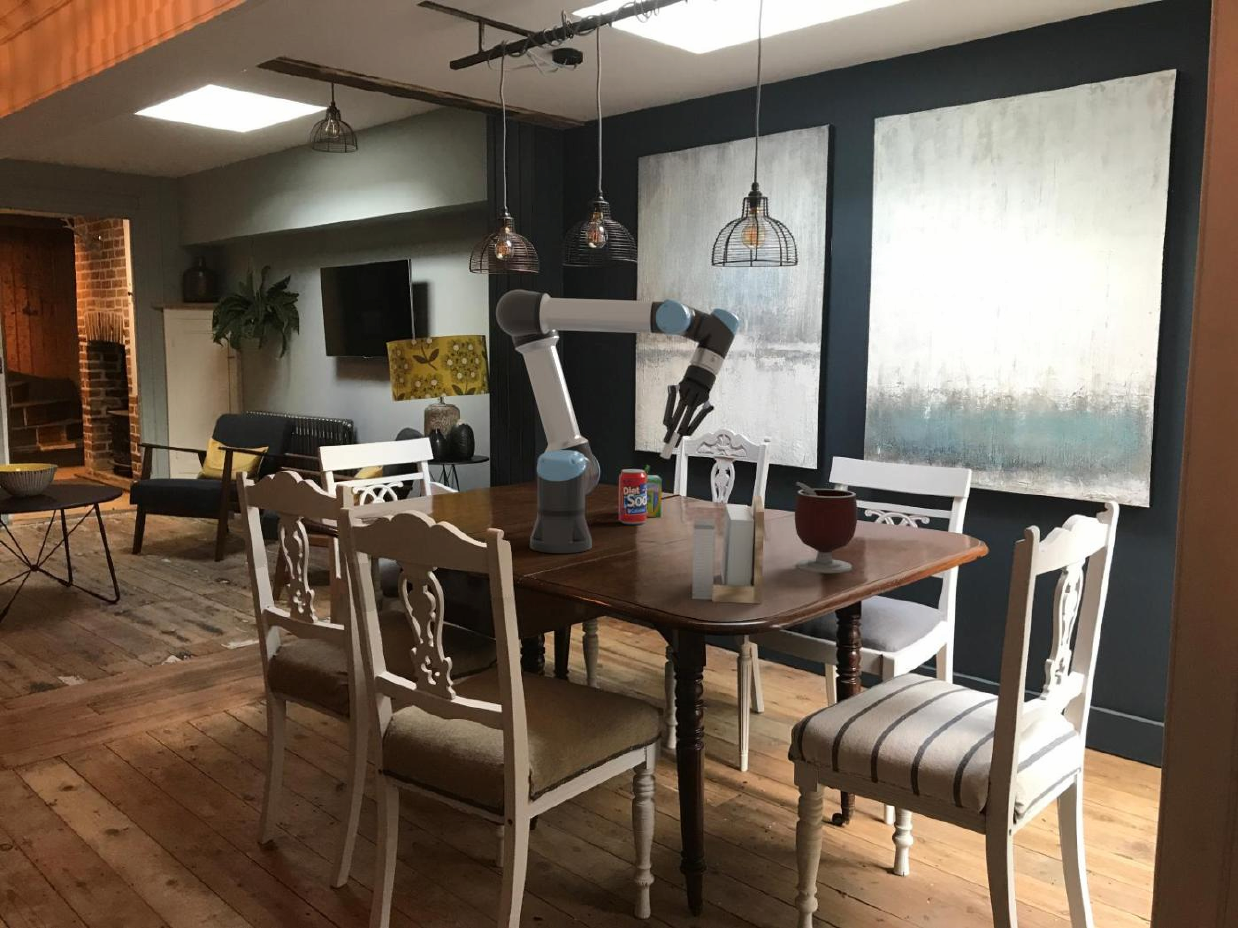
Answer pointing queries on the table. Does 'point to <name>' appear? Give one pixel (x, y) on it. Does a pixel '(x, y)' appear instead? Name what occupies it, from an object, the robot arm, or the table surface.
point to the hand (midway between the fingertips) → (664, 457)
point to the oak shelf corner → (755, 591)
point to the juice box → (653, 494)
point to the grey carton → (703, 558)
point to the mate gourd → (825, 526)
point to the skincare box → (737, 545)
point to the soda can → (632, 496)
